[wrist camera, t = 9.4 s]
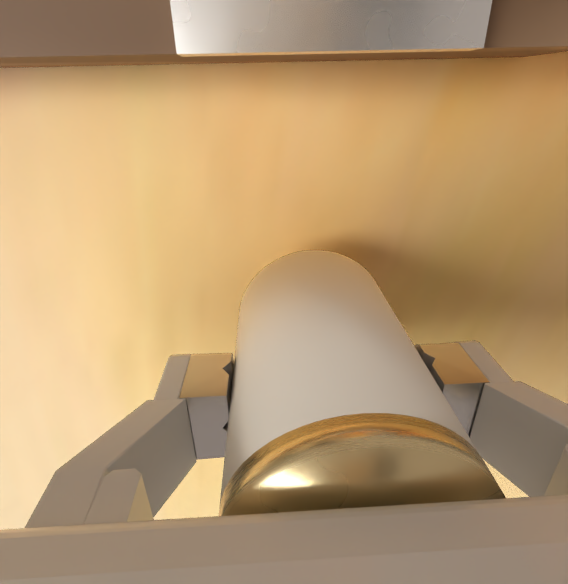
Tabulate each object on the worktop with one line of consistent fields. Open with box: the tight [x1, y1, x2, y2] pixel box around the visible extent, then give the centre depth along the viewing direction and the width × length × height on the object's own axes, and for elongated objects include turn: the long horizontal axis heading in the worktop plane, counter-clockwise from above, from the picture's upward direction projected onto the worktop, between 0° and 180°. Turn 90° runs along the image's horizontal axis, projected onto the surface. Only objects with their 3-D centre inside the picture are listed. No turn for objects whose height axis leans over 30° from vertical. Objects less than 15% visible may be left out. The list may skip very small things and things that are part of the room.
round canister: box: [219, 250, 505, 516], centre depth 9 cm, size 4×4×7 cm
